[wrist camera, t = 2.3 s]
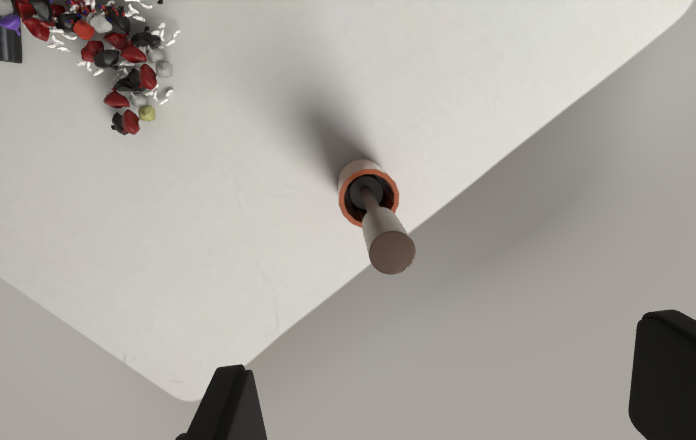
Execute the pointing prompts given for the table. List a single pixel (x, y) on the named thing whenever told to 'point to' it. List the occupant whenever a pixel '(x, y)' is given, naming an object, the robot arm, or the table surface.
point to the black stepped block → (10, 43)
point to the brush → (381, 227)
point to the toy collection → (101, 48)
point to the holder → (356, 170)
